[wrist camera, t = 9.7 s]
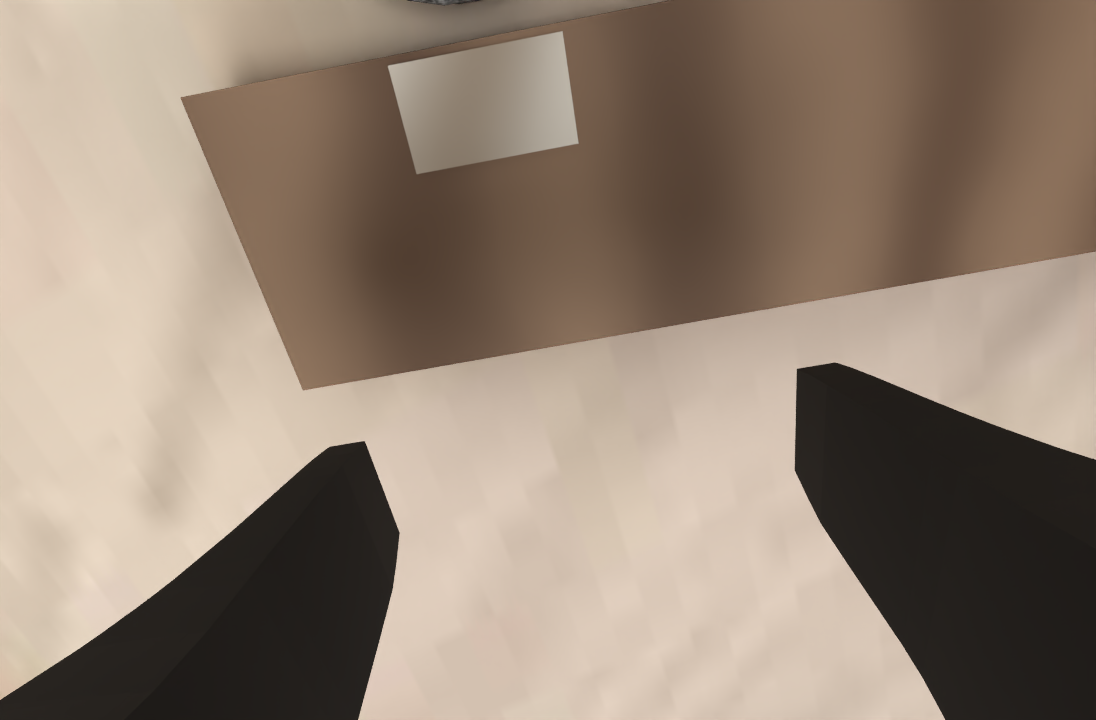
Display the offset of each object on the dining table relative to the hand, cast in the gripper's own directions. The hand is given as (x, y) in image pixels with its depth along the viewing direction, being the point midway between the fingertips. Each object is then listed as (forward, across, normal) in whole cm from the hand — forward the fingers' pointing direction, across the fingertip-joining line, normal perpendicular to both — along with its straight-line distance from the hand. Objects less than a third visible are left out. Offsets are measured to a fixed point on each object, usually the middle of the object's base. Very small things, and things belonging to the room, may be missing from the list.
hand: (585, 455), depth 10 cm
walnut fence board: (+10, -4, -3) cm, 11 cm away
